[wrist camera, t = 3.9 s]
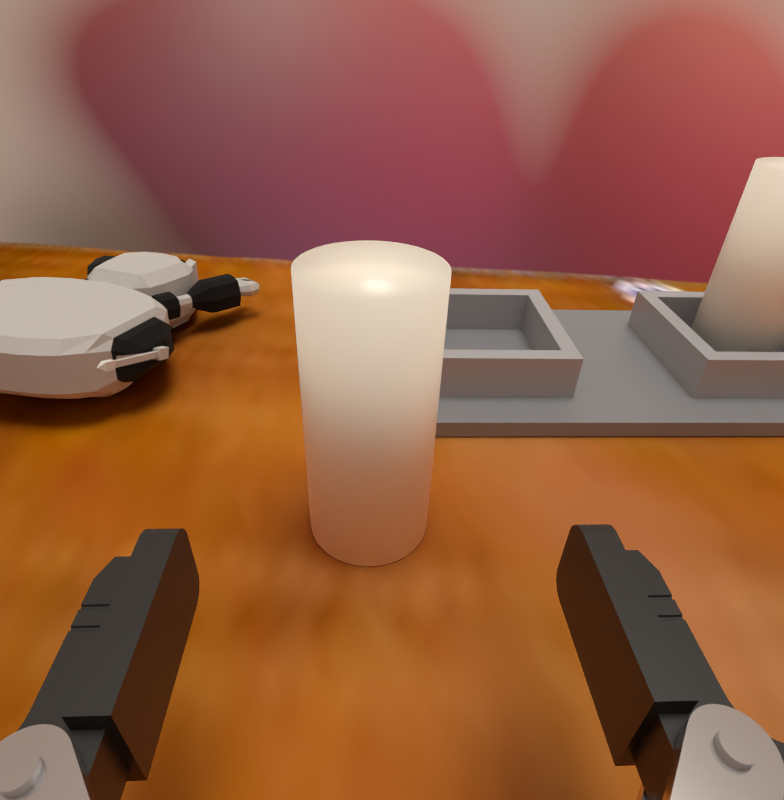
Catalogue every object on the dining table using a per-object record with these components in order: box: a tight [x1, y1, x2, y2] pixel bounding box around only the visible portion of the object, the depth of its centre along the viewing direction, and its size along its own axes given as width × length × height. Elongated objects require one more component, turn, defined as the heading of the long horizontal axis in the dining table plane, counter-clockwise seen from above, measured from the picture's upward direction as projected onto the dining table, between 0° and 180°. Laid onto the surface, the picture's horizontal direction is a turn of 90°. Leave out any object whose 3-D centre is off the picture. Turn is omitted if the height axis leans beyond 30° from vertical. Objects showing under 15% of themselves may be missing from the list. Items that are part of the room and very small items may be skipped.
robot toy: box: [0, 252, 259, 399], centre depth 30 cm, size 12×4×15 cm
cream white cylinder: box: [291, 241, 451, 567], centre depth 18 cm, size 4×4×10 cm
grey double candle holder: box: [435, 157, 784, 437], centre depth 27 cm, size 22×12×11 cm, turn 92°
